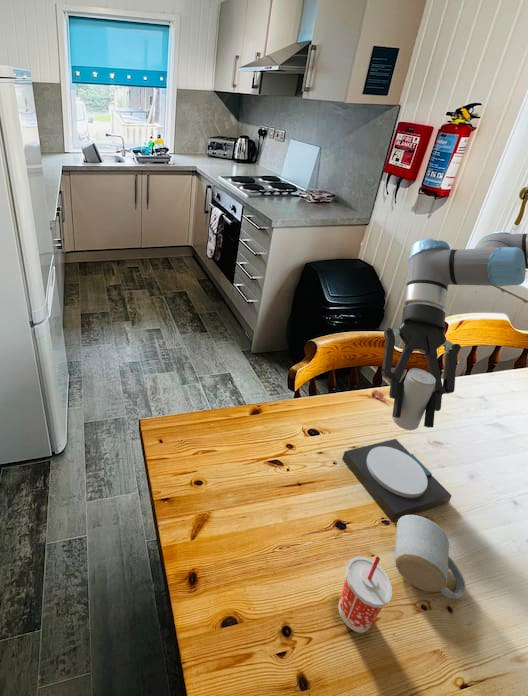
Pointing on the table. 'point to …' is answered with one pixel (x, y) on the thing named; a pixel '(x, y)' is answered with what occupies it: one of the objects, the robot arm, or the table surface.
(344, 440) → the table surface
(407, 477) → the kitchen scale
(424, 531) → the ceramic mug
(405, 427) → the beverage can
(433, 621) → the table surface
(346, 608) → the beverage cup
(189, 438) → the table surface
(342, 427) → the table surface
